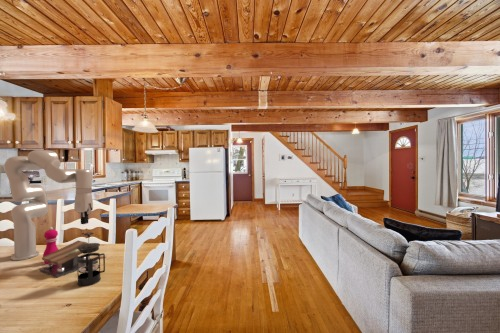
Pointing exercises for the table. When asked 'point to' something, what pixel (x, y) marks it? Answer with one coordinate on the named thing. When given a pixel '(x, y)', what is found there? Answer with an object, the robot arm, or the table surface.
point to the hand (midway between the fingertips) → (84, 223)
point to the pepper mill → (50, 242)
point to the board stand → (64, 267)
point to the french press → (89, 264)
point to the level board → (64, 253)
